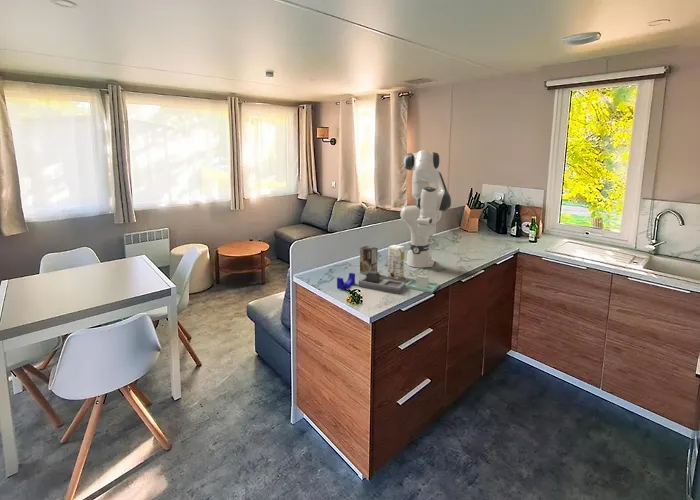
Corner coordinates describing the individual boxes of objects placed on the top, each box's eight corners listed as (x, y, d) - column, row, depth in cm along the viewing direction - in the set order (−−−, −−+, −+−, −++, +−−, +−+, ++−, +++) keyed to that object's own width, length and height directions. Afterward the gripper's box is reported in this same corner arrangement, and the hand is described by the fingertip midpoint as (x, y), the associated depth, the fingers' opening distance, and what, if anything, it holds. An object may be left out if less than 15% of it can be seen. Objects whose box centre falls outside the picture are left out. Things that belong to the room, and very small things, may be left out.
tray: (412, 281, 221) (412, 279, 220) (438, 286, 213) (439, 283, 213) (404, 287, 211) (404, 285, 211) (432, 292, 204) (432, 290, 203)
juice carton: (397, 280, 222) (398, 248, 218) (386, 277, 228) (386, 246, 223) (405, 277, 228) (406, 246, 223) (393, 274, 233) (394, 243, 229)
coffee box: (377, 273, 235) (378, 247, 231) (371, 276, 230) (371, 249, 226) (365, 270, 241) (366, 245, 237) (359, 273, 236) (359, 247, 232)
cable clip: (343, 290, 208) (343, 279, 206) (337, 288, 210) (337, 277, 209) (357, 284, 217) (357, 274, 215) (350, 282, 219) (350, 272, 218)
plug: (418, 284, 215) (418, 274, 214) (428, 286, 213) (429, 276, 211) (415, 286, 212) (415, 276, 210) (425, 288, 209) (426, 278, 207)
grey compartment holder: (366, 281, 221) (366, 268, 219) (405, 288, 210) (406, 274, 208) (358, 286, 213) (358, 272, 211) (398, 293, 202) (399, 279, 200)
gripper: (428, 215, 214) (427, 239, 218) (415, 220, 197) (414, 246, 200) (439, 216, 211) (438, 241, 214) (427, 221, 194) (426, 248, 197)
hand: (426, 243), depth 207 cm, fingers open, 8 cm apart
